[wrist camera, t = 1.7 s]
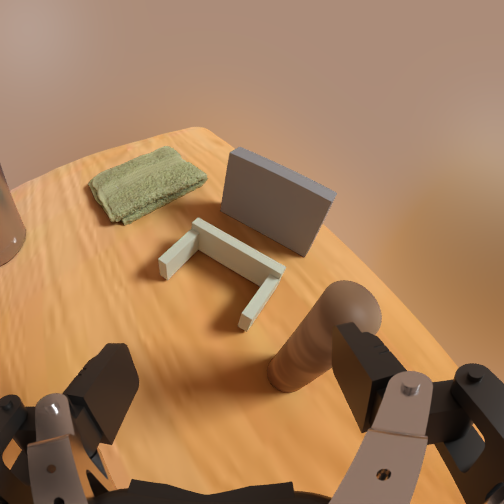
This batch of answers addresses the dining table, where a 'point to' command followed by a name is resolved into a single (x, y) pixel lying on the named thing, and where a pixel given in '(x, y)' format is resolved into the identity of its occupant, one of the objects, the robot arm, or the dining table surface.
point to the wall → (275, 200)
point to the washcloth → (145, 184)
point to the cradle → (226, 263)
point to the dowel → (322, 334)
